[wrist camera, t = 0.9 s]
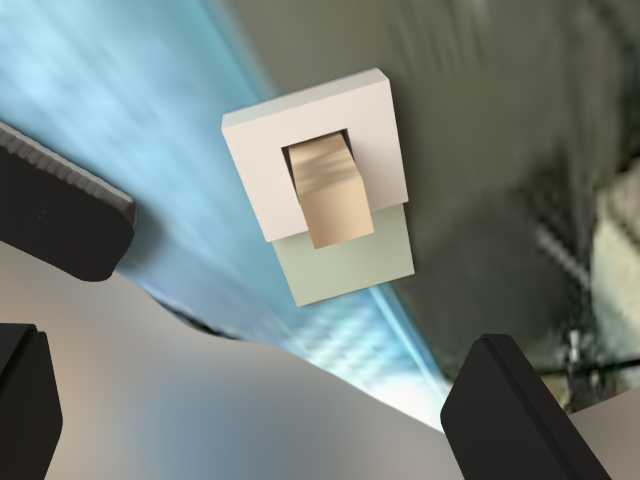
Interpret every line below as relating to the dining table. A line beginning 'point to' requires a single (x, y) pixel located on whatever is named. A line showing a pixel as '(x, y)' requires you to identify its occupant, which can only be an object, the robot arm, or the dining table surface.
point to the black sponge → (61, 210)
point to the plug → (330, 190)
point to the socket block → (309, 122)
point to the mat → (347, 259)
